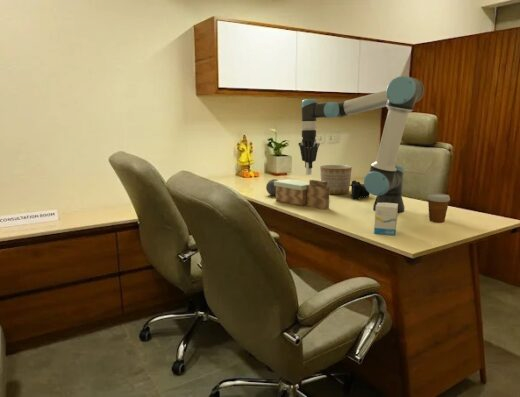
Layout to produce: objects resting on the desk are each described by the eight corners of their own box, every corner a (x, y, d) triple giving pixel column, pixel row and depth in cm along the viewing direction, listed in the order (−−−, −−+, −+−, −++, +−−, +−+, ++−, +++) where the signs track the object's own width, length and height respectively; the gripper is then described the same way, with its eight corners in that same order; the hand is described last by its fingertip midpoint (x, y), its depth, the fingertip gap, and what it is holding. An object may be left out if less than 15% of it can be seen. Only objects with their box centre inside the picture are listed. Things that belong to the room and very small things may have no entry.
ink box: (395, 235, 159) (397, 207, 156) (373, 233, 162) (375, 205, 159) (396, 230, 166) (398, 203, 164) (375, 228, 169) (377, 201, 167)
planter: (317, 194, 244) (317, 168, 240) (322, 189, 262) (323, 164, 258) (348, 196, 238) (349, 169, 234) (352, 190, 255) (353, 165, 252)
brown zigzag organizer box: (332, 207, 208) (333, 186, 205) (321, 210, 202) (322, 188, 200) (286, 198, 232) (286, 179, 230) (275, 200, 226) (275, 181, 224)
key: (327, 186, 204) (327, 181, 204) (324, 186, 203) (324, 182, 202) (312, 184, 211) (312, 179, 211) (309, 184, 210) (309, 180, 209)
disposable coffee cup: (421, 221, 180) (423, 195, 177) (430, 217, 186) (432, 192, 184) (443, 225, 173) (445, 198, 171) (451, 221, 180) (453, 195, 177)
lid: (315, 187, 216) (315, 183, 216) (301, 190, 209) (301, 185, 208) (287, 183, 231) (287, 179, 231) (273, 185, 224) (273, 181, 224)
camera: (370, 200, 225) (371, 183, 223) (351, 200, 227) (351, 183, 225) (368, 195, 238) (368, 179, 236) (350, 195, 240) (350, 179, 238)
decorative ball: (264, 196, 239) (264, 180, 237) (268, 193, 248) (268, 177, 246) (280, 197, 236) (280, 180, 234) (284, 194, 245) (284, 178, 243)
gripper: (323, 129, 204) (322, 174, 209) (304, 129, 213) (304, 172, 218) (313, 129, 199) (313, 176, 204) (294, 129, 209) (294, 174, 213)
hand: (308, 174), depth 211 cm, fingers closed
